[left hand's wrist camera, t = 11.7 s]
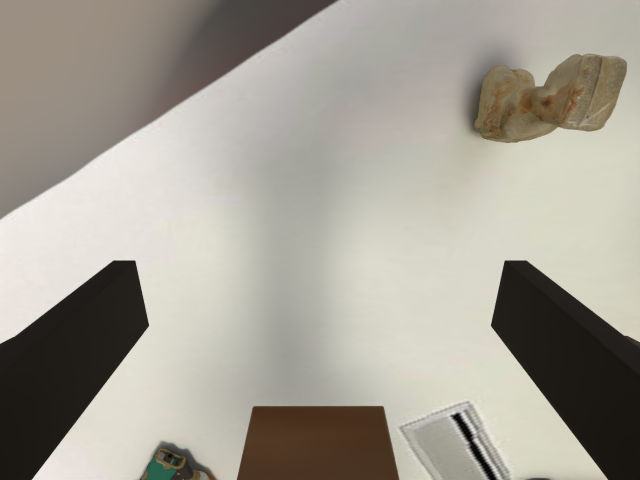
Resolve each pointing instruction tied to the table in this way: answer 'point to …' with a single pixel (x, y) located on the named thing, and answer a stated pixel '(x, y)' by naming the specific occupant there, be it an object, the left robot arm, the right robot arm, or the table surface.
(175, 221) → the table surface
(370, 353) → the table surface
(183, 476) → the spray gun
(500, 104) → the sculpture
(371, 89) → the table surface
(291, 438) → the bar
